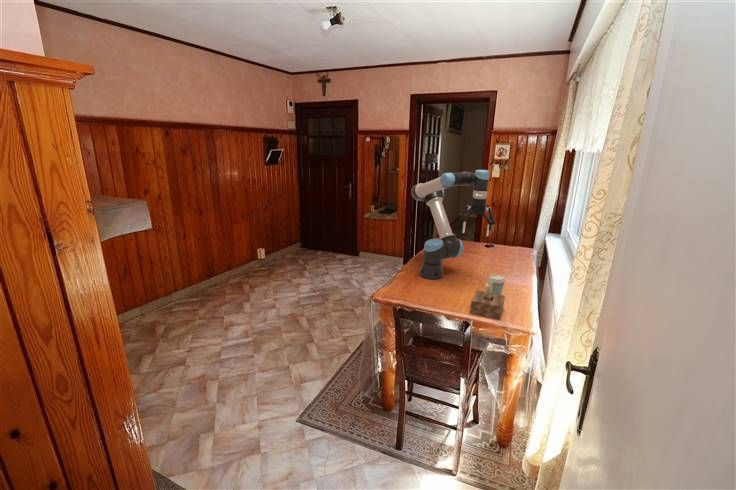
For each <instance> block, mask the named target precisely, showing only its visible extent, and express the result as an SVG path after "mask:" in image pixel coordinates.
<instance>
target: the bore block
mask: <svg viewBox="0 0 736 490" xmlns="http://www.w3.org/2000/svg"><path fill="white" fill-rule="evenodd" d="M484 297H485V291H484V290H483V291H482V290H476V292H475V293H474V295H473V297H472V299H471V302H470V310H469V313H470V314H473V315H478V316H480V317H486V318H489V319H494V320H497V321H500V320H501V316H502V313H503V309H504V305H505V297H506V296H505V295H502V294H501V295H498V294H493V293H492V295H491V300H486V299H484Z"/></svg>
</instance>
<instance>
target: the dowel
mask: <svg viewBox="0 0 736 490" xmlns="http://www.w3.org/2000/svg"><path fill="white" fill-rule="evenodd" d="M492 287H493V281H491V280H489V279H487V280H486V282H485V290H484V292H485V297H484V299H486V300H491V295H492Z"/></svg>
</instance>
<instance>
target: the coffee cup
mask: <svg viewBox="0 0 736 490" xmlns="http://www.w3.org/2000/svg"><path fill="white" fill-rule="evenodd" d="M488 280H491V281H493V287H492V293H493V294H498V295H502V292H503V289H504V286H505V285H504V284H505V283H506V280H505V277H504V276H503V275H500V274H491V275H490V276H489V277H488Z"/></svg>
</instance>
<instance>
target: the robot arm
mask: <svg viewBox="0 0 736 490" xmlns="http://www.w3.org/2000/svg"><path fill="white" fill-rule="evenodd" d="M489 180H490V171H489V170H487V169H476V170H475V172H469V171H462V172H445V173H443V174H441V176H439V177H437V178H434V179H432V180H429V181H427V182H424V183H423V182H421V183H417V184H415V185H414V186H412V188H411V190H410V191H411V192H410V193H411V196H412V198H413V199H414V200H415V201H419V202H424V201H425V204H426V206H428V207H429V209H430V212H431V215H432V217H433V220H434V224H435V226H436V229H437V232H438V233H437V234H438V237H439V238H431V239H428V240H426V241H424V247H423V261H422V266H421V268H420V271H419V276H420V277H421V278H424V279H426V280H441V279H443V278H444V270H443V265H442V262H443V260H445V259H451V258H452V259H454V258H457V257H460V256H461V255H462V253H463V251H464V244H463V241H462V240H461V239H460V238H457V236H456V234H455V233H453V231H452V228H451V225H450V223H449V219H448V216H447V214H446V210H445V208H444V204H443V201H444V196H445V189H449V188H451V187H461V186H465V187H466V186H468V187H470V186H471V187H473V190H472V191H473V192H472V199H471V200H472V201H471V205H469V204H467V205H466V206H465V209H464V210H463V211H462V213H461V215H460V216H459V218H458V221H460V222H461V228H462V234H464V233H465V232H466V227H467V226H466V224H467V219H468V218H470V217H471V215H473V214H474V215H479V216H480V215H481V216H482V217H483V218H484V219H485V221H486V222H487V223H488V224H487V226H486V227H487V230H486V235H485V236H486V237H489V235H490V231H492V226H494V225H495V224H496V223H497V222H496V220H495V218H494V215H493V212H492V207H491V206H489V207H486V206H487V205H486V204H487V199H486V198H487V197H488V189H489ZM468 210H471V211H470V212H469V213H468V214H467V215H466V213H467V211H468ZM486 211H487V212H488V215H489V217H488V215H487V213H486ZM465 215H466V216H465Z"/></svg>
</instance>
